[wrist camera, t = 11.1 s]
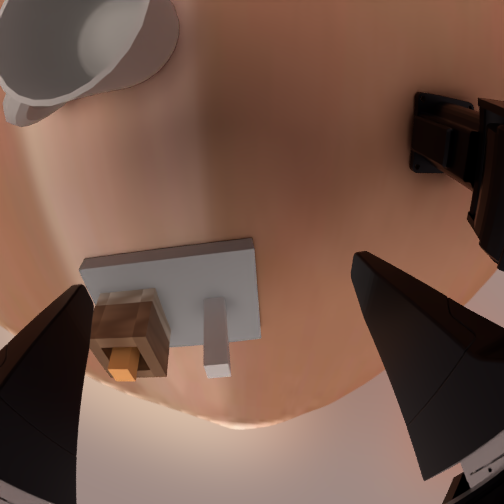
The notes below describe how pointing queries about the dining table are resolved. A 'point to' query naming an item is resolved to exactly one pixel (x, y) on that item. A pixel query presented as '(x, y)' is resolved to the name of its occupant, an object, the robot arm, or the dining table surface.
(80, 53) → the cup
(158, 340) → the sleeve
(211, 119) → the dining table surface
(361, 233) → the dining table surface
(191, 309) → the pin board
